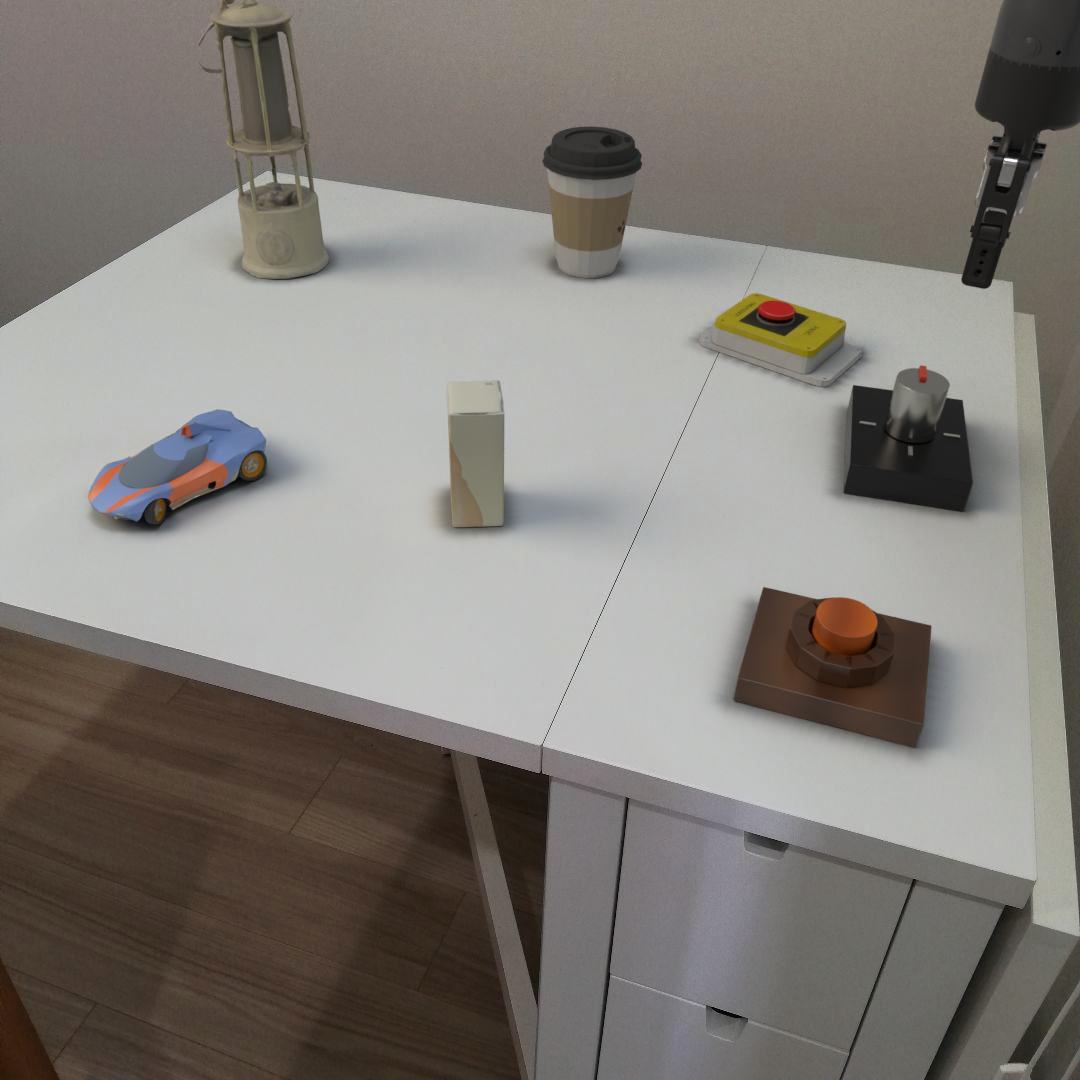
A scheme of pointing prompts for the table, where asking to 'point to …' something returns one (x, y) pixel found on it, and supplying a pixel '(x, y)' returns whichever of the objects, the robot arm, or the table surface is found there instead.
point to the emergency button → (783, 339)
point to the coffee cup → (590, 196)
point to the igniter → (836, 671)
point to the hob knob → (916, 405)
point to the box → (476, 452)
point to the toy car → (180, 468)
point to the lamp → (269, 144)
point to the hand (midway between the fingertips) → (982, 265)
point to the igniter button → (844, 626)
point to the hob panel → (906, 455)
